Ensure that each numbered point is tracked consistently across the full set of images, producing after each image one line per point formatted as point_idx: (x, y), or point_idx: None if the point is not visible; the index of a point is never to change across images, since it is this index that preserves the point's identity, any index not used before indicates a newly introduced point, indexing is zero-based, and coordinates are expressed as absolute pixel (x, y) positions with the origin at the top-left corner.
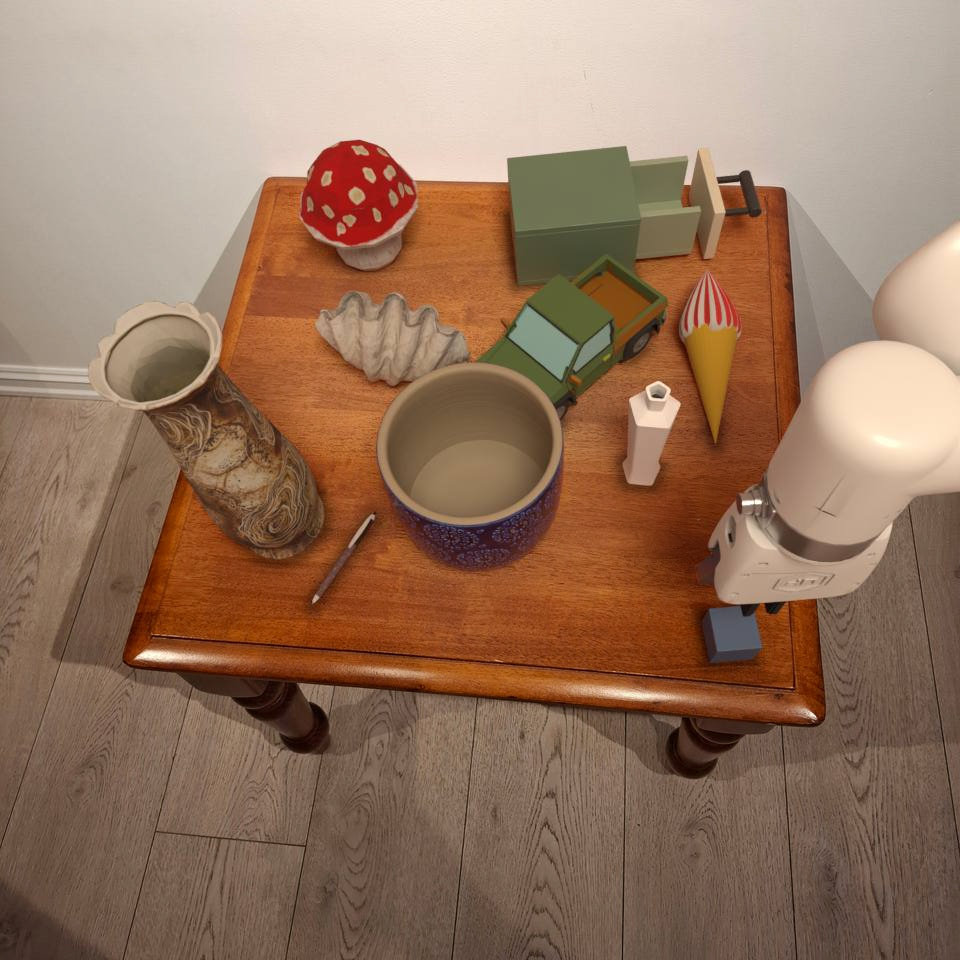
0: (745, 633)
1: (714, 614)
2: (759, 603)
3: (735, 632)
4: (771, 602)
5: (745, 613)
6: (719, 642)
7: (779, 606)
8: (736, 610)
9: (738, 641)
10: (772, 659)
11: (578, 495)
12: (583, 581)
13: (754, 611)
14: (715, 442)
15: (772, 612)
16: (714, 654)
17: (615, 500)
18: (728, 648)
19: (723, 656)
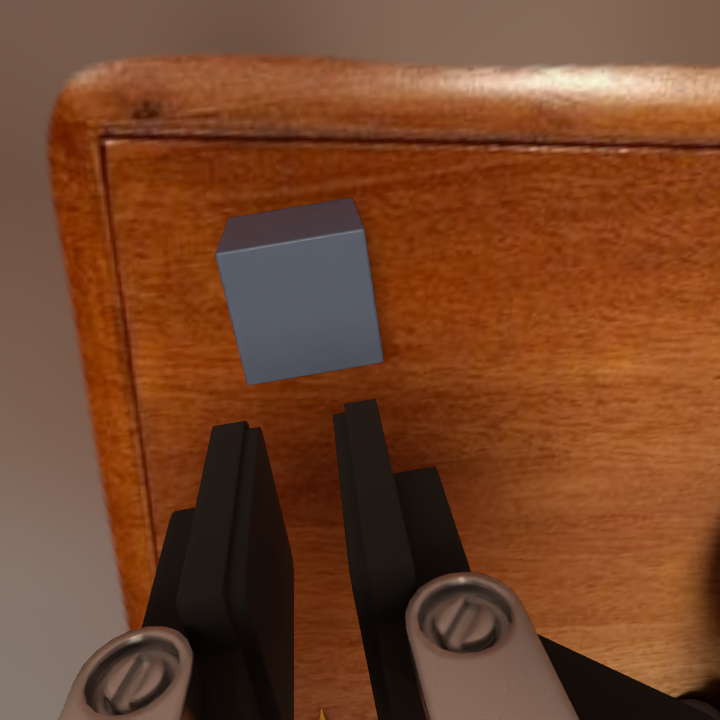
0: (270, 295)
1: (367, 346)
2: (364, 542)
3: (302, 296)
4: (257, 510)
5: (380, 424)
6: (354, 259)
7: (216, 505)
8: (299, 364)
9: (293, 268)
10: (170, 223)
11: (641, 577)
12: (664, 387)
13: (337, 441)
14: (322, 713)
15: (239, 442)
16: (360, 220)
17: (558, 575)
18: (326, 242)
19: (326, 217)
